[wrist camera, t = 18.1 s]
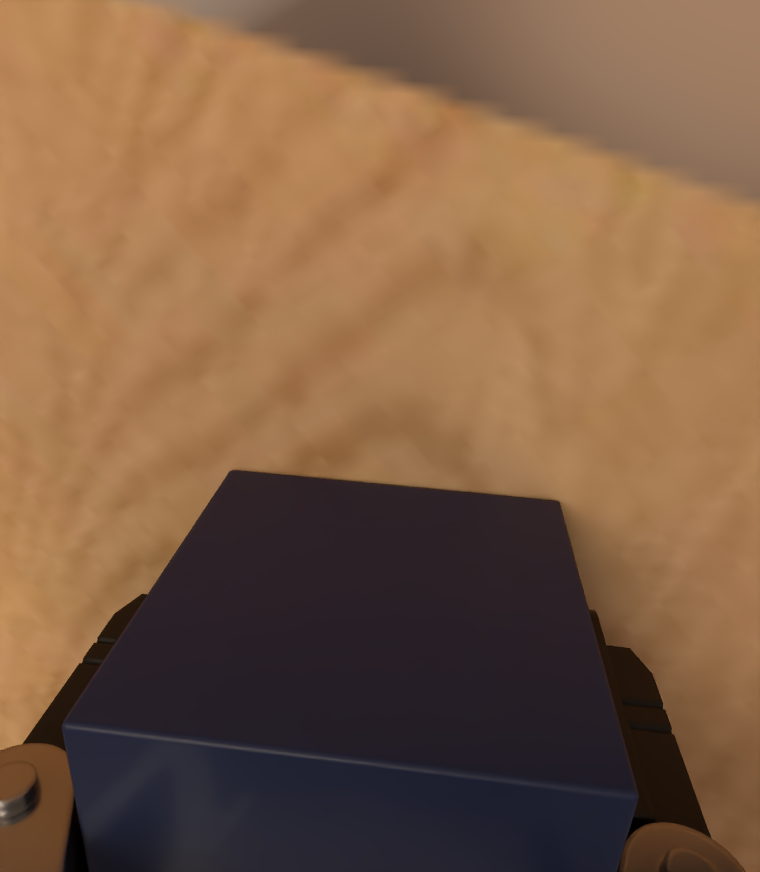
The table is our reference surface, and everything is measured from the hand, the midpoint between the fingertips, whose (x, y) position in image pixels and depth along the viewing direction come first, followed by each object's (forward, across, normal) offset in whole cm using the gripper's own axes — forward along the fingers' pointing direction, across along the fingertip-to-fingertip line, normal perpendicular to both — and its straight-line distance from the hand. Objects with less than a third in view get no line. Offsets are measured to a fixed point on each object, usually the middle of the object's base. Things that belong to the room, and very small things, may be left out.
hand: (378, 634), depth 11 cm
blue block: (0, 0, 0) cm, 0 cm away
